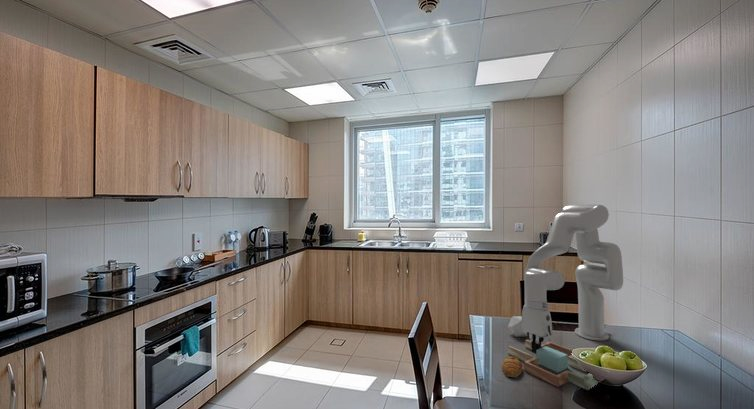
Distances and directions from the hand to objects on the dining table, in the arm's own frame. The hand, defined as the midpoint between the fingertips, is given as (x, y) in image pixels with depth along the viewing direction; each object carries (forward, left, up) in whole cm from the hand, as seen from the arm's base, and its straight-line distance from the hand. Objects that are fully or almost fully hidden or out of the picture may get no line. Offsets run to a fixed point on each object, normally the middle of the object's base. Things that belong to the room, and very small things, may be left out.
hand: (536, 352), depth 119 cm
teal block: (0, +6, -3) cm, 7 cm away
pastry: (+16, +1, -3) cm, 16 cm away
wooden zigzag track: (0, +6, -2) cm, 6 cm away
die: (-14, -17, -3) cm, 22 cm away
